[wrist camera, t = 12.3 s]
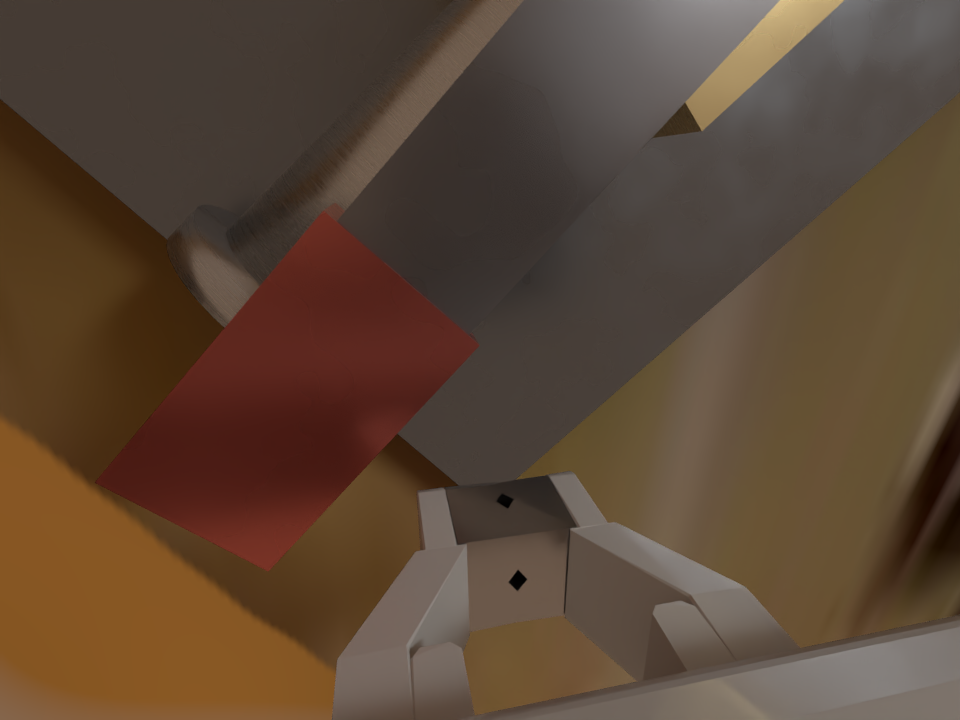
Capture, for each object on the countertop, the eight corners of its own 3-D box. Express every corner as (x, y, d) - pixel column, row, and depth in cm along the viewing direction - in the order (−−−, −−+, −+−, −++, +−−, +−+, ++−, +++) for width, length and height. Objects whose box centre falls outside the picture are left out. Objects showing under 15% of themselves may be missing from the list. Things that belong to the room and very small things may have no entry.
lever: (801, -390, 8) (1096, -783, 5) (892, -165, 9) (1171, -347, 6) (166, 373, 10) (65, 467, 7) (314, 466, 11) (289, 581, 8)
